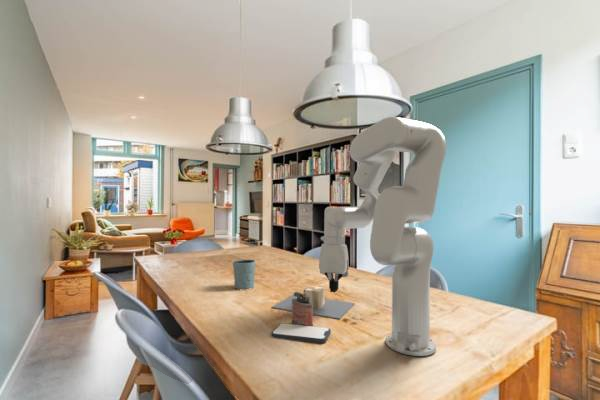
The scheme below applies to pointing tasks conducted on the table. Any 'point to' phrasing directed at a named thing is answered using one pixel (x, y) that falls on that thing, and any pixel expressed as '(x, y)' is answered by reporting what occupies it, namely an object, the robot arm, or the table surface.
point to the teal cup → (244, 273)
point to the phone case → (302, 333)
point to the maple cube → (316, 295)
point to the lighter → (302, 310)
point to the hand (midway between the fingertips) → (333, 291)
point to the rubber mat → (327, 310)
